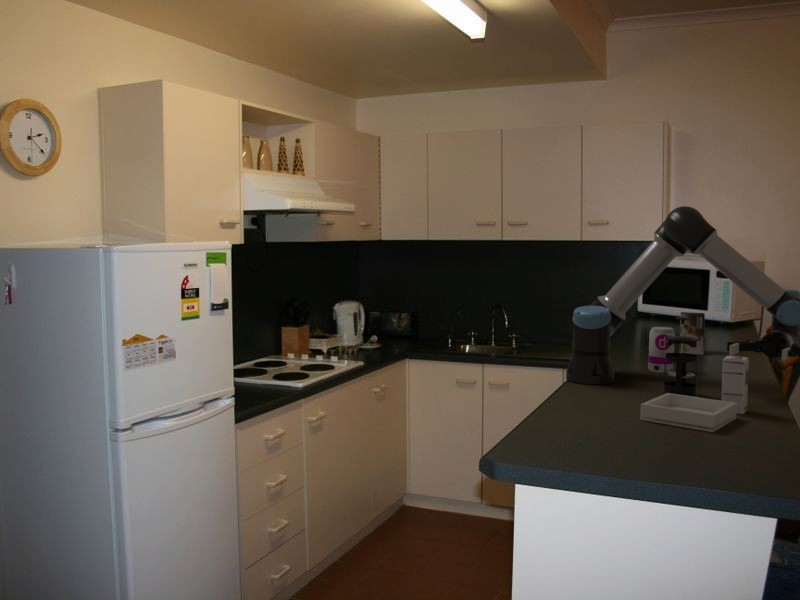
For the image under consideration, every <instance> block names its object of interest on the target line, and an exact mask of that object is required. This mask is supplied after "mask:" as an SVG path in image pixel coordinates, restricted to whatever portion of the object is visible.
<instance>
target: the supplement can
mask: <svg viewBox="0 0 800 600" xmlns="http://www.w3.org/2000/svg"><path fill="white" fill-rule="evenodd" d="M648 336H649V339H648V341H649V342H648V363H647V366H648V367H647V368H648V370H649V371H650V372H651V373H656V374H664V372H665V354H666V353H675V344H673V345H671V346H668V345H667V339H666V337H672V336H676V332H675V330H674V328H673V327H669V326H652V327H651V329H650V331H649V335H648ZM674 363H675V361H670V360H666V372H671V371H674Z"/></svg>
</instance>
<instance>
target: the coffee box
mask: <svg viewBox="0 0 800 600" xmlns="http://www.w3.org/2000/svg"><path fill="white" fill-rule="evenodd" d="M705 316H706V313H705V312H690V311H689V312H688V311H687V312H685V311H684V312H683V311H680V317H686V318H690V320H685V323H684V324H683V336H686V337H692V338H697V339H699V341H697V347H694V348H693V347H690V346H689V345H688V344H683V346H682V353H689V354H695V355H697V356H699V355H700V356H704V355H705V325H706V323H705V321H706V320H705V319H706V318H705ZM679 323H680V324H679V336H682V324H681V320H679ZM678 351H679V352H678V353H681V344H679V350H678Z"/></svg>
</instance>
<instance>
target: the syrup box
mask: <svg viewBox="0 0 800 600" xmlns="http://www.w3.org/2000/svg"><path fill="white" fill-rule="evenodd" d="M749 360H750V358H749V357H746V356H741V355H726V356H725V357H724V358H722V371H721V372H722V374H721V401H727V402H734V403H737V414H738V415H745V413H746V412H747V410H748V402H749V401H748V400H749V399H748V398H749V397H748V395H749V366H750V365H749V363H750V361H749Z"/></svg>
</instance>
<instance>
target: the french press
mask: <svg viewBox="0 0 800 600" xmlns="http://www.w3.org/2000/svg"><path fill="white" fill-rule="evenodd" d="M675 320H679V321H680V320H681V324H682V336H680V335H675V336H672V337H666V339H667V345H668V346H671V345H673V344H674V345H676V344H677V345H680V344H681V353H679V352H674V353H666V354H665V372H664V373H663V375H664V376H663V378H664V379H663V392H662V395H664V394H666V393H671V394H678V395H685V396H692V397H698V395H697V390H698V389H697V387H698V364H699V363H698V361H699V355H697V354H689V353H682V346H683V344H688V345H689V346H690V347H693V348H694V347H697V341H699V339H697V338H692V337H686V336H683V324H684V323H685V320H690V318H686V317H681V316H680V317H679V316H678V317H675ZM666 360H670V361H674V362H675V363H676V364H675V365H676V366H675V371H674V370H673V371H671V372H666ZM695 362H696V363H695ZM687 363H695V365H696V366H695V373H693V372H688V371H687ZM667 377H669V378H675V381H674V380H673V381H666V380H667V379H666V378H667ZM688 379H690V380H691V379H695V383H694V382H693V383H692V382H689V381H688V382H686V381H687V380H688Z"/></svg>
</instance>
